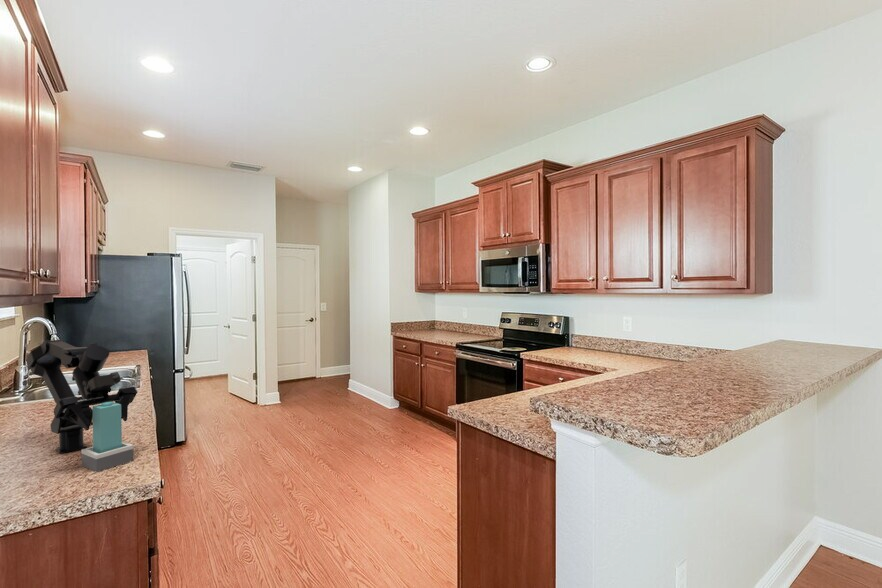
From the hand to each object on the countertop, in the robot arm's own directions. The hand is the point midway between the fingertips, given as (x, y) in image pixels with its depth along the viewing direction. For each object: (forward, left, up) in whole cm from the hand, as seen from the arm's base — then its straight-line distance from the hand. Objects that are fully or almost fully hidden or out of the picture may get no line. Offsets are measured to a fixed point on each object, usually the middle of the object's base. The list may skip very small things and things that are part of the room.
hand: (107, 424), depth 122 cm
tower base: (0, 0, -11) cm, 11 cm away
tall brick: (0, 0, -7) cm, 7 cm away
